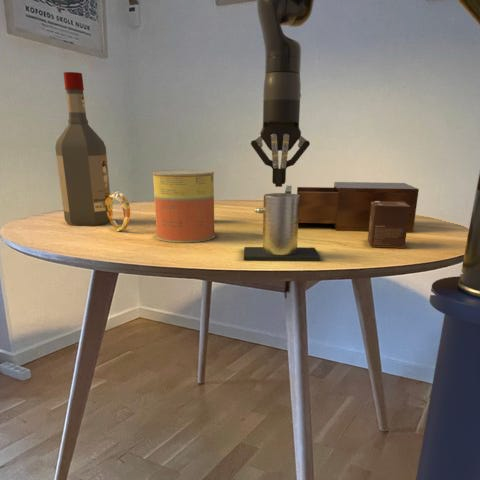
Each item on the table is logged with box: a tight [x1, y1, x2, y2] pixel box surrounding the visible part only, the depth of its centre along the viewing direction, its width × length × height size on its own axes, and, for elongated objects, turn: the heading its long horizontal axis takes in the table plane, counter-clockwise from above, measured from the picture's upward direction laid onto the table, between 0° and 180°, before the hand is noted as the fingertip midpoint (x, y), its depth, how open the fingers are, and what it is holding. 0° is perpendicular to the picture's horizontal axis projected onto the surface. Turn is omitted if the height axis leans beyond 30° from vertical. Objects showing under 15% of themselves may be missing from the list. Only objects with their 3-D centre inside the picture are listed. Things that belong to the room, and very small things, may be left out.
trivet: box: [243, 246, 321, 262], centre depth 76 cm, size 12×7×1 cm, turn 89°
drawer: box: [284, 185, 339, 224], centre depth 103 cm, size 18×12×7 cm
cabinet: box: [332, 181, 420, 233], centre depth 101 cm, size 16×14×9 cm
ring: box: [105, 190, 131, 232], centre depth 94 cm, size 7×3×8 cm, turn 41°
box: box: [367, 201, 410, 249], centre depth 83 cm, size 6×6×7 cm
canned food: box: [152, 169, 216, 244], centre depth 89 cm, size 11×11×12 cm
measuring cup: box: [254, 192, 300, 256], centre depth 75 cm, size 7×6×9 cm
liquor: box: [54, 71, 111, 227], centre depth 100 cm, size 9×9×30 cm
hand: (278, 186), depth 102 cm, fingers closed
